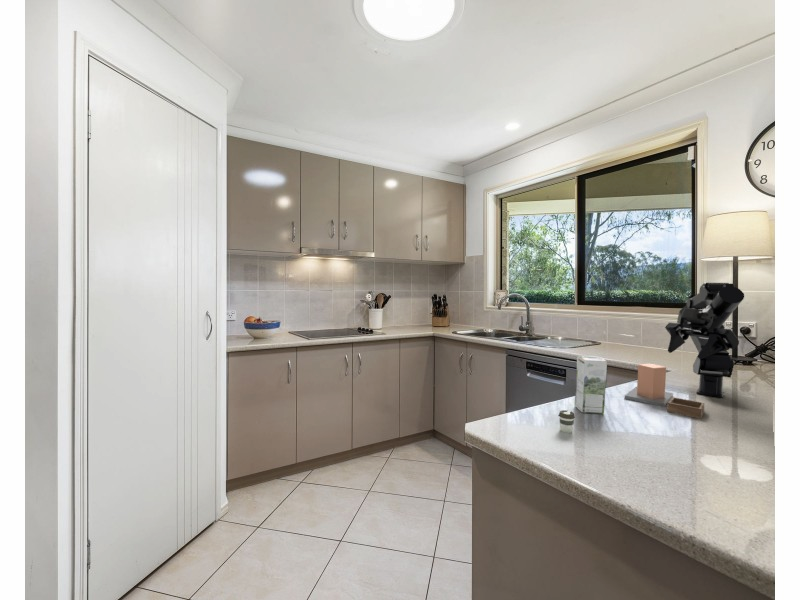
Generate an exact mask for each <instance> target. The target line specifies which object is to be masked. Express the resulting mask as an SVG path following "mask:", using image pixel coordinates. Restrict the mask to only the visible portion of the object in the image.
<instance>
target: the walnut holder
mask: <svg viewBox="0 0 800 600" xmlns="http://www.w3.org/2000/svg"><path fill="white" fill-rule="evenodd" d="M666 411H667V413H672V414H677V415H681V416H686V417H691V418H696V419H701V418H702V417H703V415H704V413H705V402H701V401H694V400H690V399H686V398H685V399H684V398H679V397H674V396H673V397H672V398H671V399H670V401H669V402H668V403H667V408H666Z"/></svg>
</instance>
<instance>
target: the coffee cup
mask: <svg viewBox="0 0 800 600" xmlns="http://www.w3.org/2000/svg"><path fill="white" fill-rule="evenodd" d="M558 417H559V429H560V432H562V433H566V434H571V433H572V431H573V427H574V423H575V419H576V416H575V412H574V411H572V410H571V411H570V410H559V413H558Z"/></svg>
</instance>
